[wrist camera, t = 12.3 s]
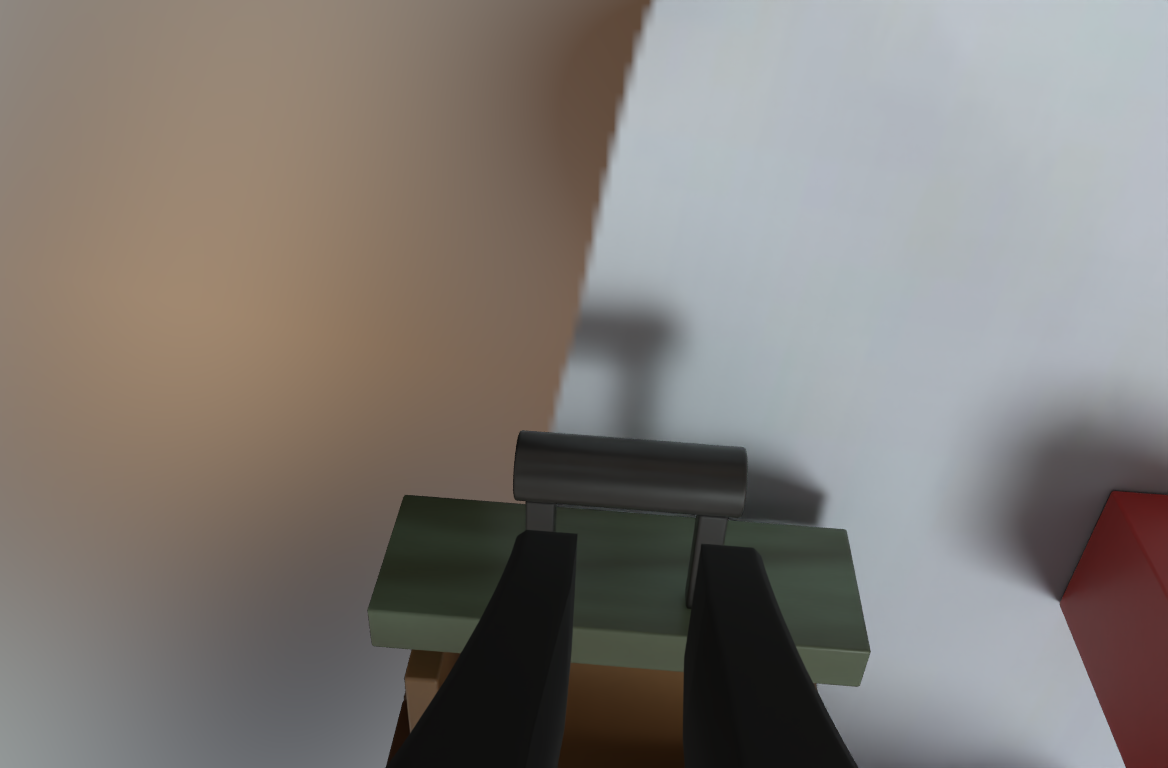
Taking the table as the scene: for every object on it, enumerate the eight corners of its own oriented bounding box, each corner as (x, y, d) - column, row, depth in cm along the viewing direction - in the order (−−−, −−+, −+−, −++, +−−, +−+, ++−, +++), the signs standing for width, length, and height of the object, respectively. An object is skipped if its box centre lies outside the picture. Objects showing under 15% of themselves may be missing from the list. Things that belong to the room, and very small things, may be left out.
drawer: (391, 350, 22) (346, 460, 19) (885, 386, 22) (918, 504, 19) (426, 748, 31) (399, 866, 28) (780, 778, 30) (791, 902, 27)
